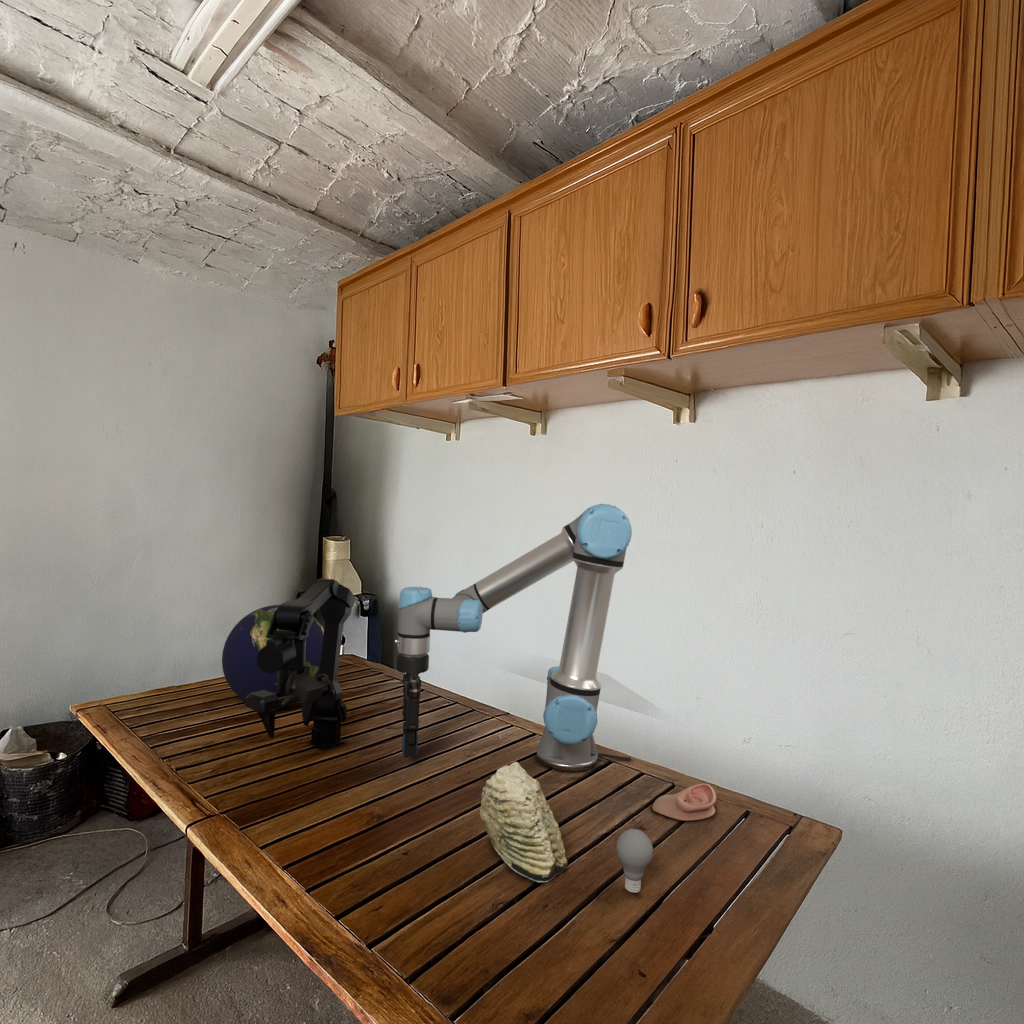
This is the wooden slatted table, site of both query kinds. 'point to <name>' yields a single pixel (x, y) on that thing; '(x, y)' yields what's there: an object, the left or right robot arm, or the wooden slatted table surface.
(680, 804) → the anatomical model
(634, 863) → the light bulb
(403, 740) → the cylinder
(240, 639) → the globe
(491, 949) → the wooden slatted table surface
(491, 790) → the fossil
